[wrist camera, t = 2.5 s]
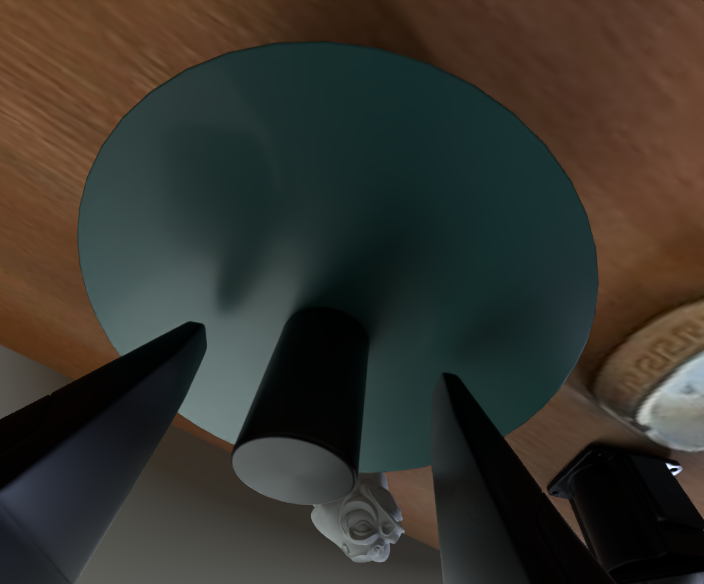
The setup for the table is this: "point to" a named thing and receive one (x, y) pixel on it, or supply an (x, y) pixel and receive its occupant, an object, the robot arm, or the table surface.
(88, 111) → the table surface
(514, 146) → the lid
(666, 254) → the table surface
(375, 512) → the grey sculpted lump
